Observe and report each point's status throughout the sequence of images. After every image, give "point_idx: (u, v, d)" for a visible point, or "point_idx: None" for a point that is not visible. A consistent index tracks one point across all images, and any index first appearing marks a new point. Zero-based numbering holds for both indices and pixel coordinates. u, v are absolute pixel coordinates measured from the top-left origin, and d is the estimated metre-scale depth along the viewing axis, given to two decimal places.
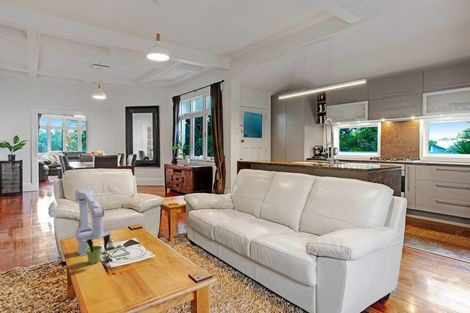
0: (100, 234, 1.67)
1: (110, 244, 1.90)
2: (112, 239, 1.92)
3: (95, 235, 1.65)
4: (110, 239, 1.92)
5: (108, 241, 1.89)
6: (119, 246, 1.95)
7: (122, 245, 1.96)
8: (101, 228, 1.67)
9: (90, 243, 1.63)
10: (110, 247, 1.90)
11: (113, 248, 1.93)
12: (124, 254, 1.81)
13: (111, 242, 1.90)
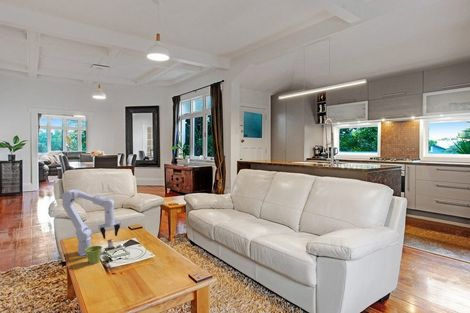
0: (111, 223, 1.88)
1: (110, 244, 1.90)
2: (112, 239, 1.92)
3: (107, 223, 1.87)
4: (110, 239, 1.92)
5: (108, 241, 1.89)
6: (119, 246, 1.95)
7: (122, 245, 1.96)
8: (112, 217, 1.89)
9: (103, 230, 1.85)
10: (110, 247, 1.90)
11: (113, 248, 1.93)
12: (124, 254, 1.81)
13: (111, 242, 1.90)
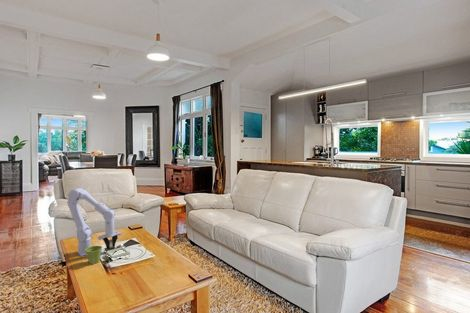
0: (112, 233, 1.89)
1: (110, 244, 1.90)
2: (112, 239, 1.92)
3: (107, 234, 1.88)
4: (110, 239, 1.92)
5: None
6: (119, 246, 1.95)
7: (122, 245, 1.96)
8: (113, 228, 1.89)
9: (106, 241, 1.87)
10: (110, 247, 1.90)
11: (113, 248, 1.93)
12: (124, 254, 1.81)
13: (111, 242, 1.90)
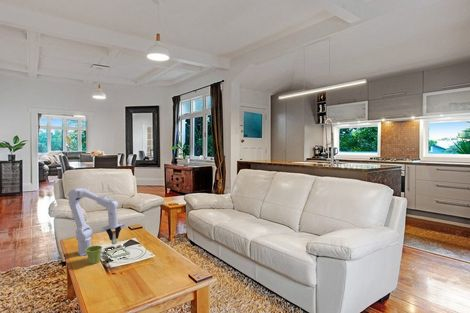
0: (115, 224, 1.85)
1: (113, 236, 1.86)
2: (115, 231, 1.88)
3: (111, 225, 1.84)
4: (113, 231, 1.88)
5: None
6: (119, 246, 1.95)
7: (122, 245, 1.96)
8: (116, 219, 1.85)
9: (109, 232, 1.83)
10: (113, 239, 1.86)
11: (113, 248, 1.93)
12: (124, 254, 1.81)
13: (114, 234, 1.86)
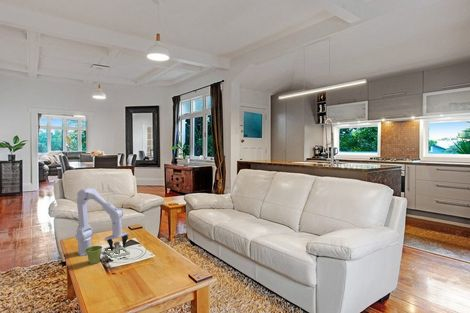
0: (119, 234, 1.82)
1: (117, 247, 1.83)
2: None
3: (115, 235, 1.80)
4: None
5: (114, 244, 1.82)
6: (119, 246, 1.95)
7: None
8: (120, 228, 1.82)
9: (110, 242, 1.78)
10: (117, 250, 1.83)
11: (113, 248, 1.93)
12: (124, 254, 1.81)
13: (117, 245, 1.83)
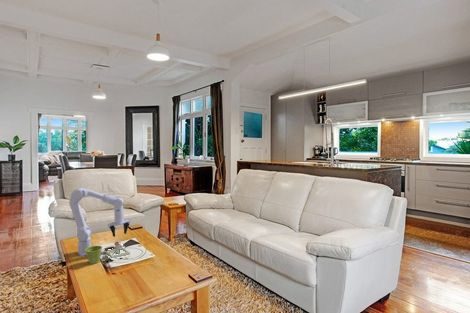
0: (121, 221, 1.92)
1: (117, 247, 1.83)
2: None
3: (117, 222, 1.90)
4: None
5: (115, 244, 1.82)
6: None
7: (122, 245, 1.96)
8: (122, 216, 1.92)
9: (113, 228, 1.88)
10: (117, 250, 1.83)
11: (113, 248, 1.93)
12: (124, 254, 1.81)
13: (118, 245, 1.83)
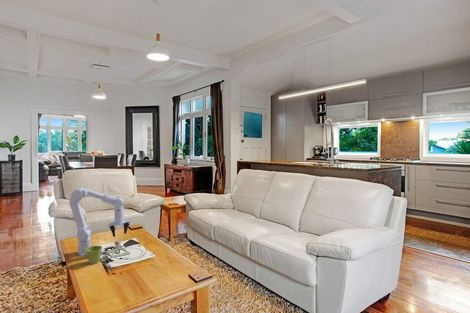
0: (121, 221, 1.92)
1: (117, 246, 1.84)
2: None
3: (117, 222, 1.90)
4: None
5: (115, 243, 1.83)
6: None
7: (122, 245, 1.96)
8: (122, 216, 1.92)
9: (113, 228, 1.88)
10: (117, 249, 1.84)
11: (113, 248, 1.93)
12: (124, 254, 1.81)
13: (118, 244, 1.84)
